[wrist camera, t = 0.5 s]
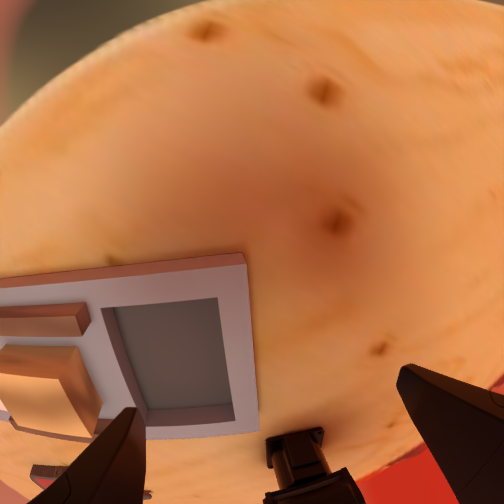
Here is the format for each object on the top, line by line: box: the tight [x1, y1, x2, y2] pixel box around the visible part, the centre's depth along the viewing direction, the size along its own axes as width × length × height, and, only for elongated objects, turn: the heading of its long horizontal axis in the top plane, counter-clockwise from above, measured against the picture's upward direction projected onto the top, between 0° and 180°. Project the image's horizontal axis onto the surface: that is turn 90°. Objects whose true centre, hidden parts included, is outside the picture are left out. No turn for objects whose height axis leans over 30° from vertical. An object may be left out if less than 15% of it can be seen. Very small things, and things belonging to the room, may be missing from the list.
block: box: [0, 344, 103, 438], centre depth 16 cm, size 6×8×4 cm
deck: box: [0, 252, 260, 440], centre depth 19 cm, size 16×36×2 cm, turn 94°
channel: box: [0, 302, 114, 443], centre depth 17 cm, size 13×14×2 cm
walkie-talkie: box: [30, 464, 152, 500], centre depth 24 cm, size 9×4×20 cm
